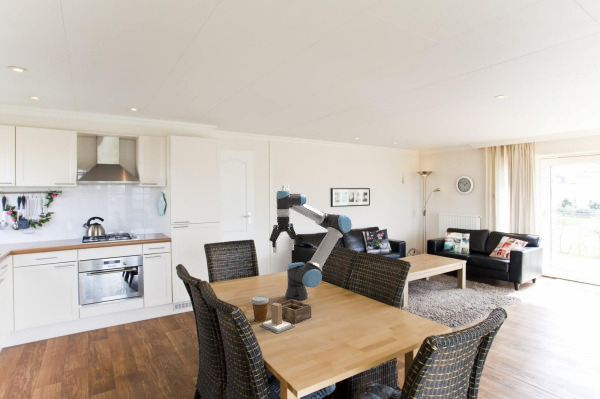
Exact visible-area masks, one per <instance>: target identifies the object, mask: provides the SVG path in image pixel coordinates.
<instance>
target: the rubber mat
mask: <svg viewBox="0 0 600 399" xmlns="http://www.w3.org/2000/svg"><path fill="white" fill-rule="evenodd" d="M258 326H259V327H261V328H263V329H266V330H268V331H270V332H272V333H275V334H277V335H279V334H281V333H284V332H286V331H289V330H291V329H293V328H296V326H295V324H294V325H293V324H291V326H290V327H288V328H285V329H283V330H280V331H276V330H274V329H271V328H269V327H266V326H264V325H263V323H261V324H259V325H258Z"/></svg>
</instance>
